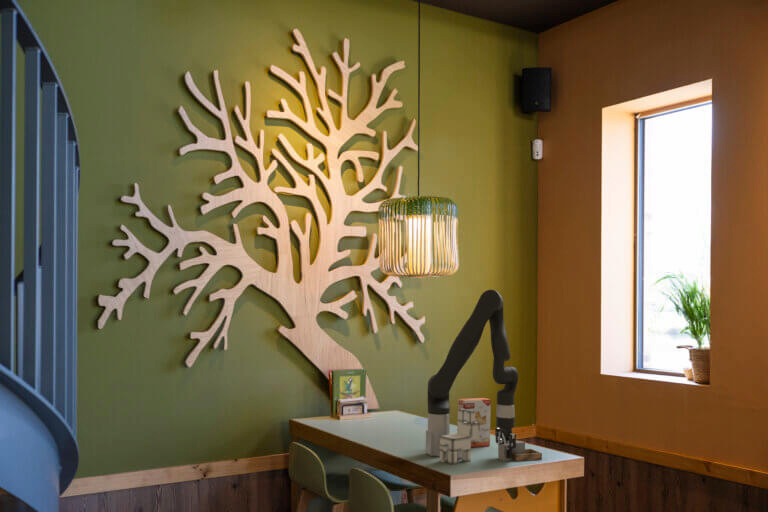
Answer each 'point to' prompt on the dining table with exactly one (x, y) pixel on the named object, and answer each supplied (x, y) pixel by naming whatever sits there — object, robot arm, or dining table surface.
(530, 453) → the bin
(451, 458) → the toy llama
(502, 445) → the beige grey block
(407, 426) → the dining table surface
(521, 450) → the grey rectangular block
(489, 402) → the cracker box
